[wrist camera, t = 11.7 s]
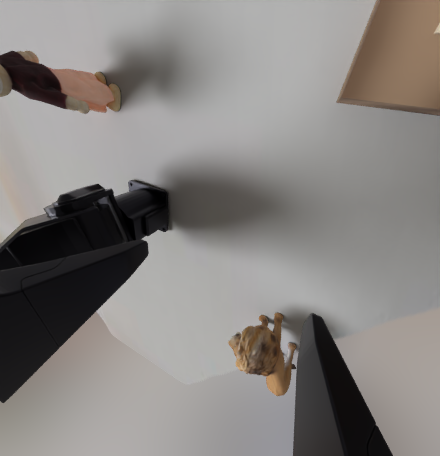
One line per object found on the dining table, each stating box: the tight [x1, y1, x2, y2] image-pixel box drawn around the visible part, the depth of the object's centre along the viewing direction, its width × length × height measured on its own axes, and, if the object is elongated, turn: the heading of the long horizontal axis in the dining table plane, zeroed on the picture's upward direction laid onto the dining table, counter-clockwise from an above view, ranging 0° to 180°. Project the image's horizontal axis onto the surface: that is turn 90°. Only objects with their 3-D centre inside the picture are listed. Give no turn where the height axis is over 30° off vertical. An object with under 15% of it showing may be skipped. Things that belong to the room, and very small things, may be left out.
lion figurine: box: [228, 313, 296, 396], centre depth 25 cm, size 15×5×9 cm, turn 35°
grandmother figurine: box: [0, 51, 121, 114], centre depth 17 cm, size 8×4×13 cm, turn 68°
